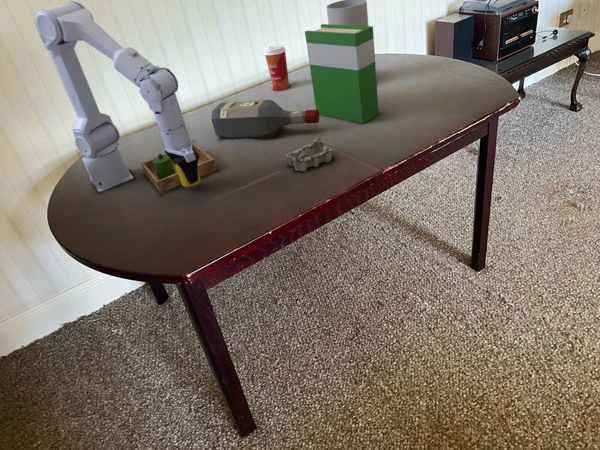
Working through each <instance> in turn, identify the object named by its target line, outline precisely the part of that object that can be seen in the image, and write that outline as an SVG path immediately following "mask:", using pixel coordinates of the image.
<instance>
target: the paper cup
mask: <svg viewBox="0 0 600 450" xmlns="http://www.w3.org/2000/svg"><path fill="white" fill-rule="evenodd" d="M286 51H287V49H286V48H285V46H284V45H283V44H274V45H270V46H267V47H265V48H264V52H263V55H264V57H265V59H266V65H267V68H268V72H269V76H270V80H271V83H272V87H273V90H274V91H277V92H278V91H284V90H287V89H289V88H290V80H289V72H288V71H289V70H288V63H287V56H286Z"/></svg>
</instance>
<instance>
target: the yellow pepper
mask: <svg viewBox="0 0 600 450" xmlns="http://www.w3.org/2000/svg"><path fill="white" fill-rule="evenodd" d="M175 166H176V169H177V172H178V175H179V178H180V180H181V183H182V184H181V185H182V187H185V188H191V187H194V186H196V185H198V184H199V183H201V177H200V176H199V173H198V181H197V182H195V183H193V184H190V183H189V182H188V181H187V179H186V177H185V175H184V173H183V171H182V170H181V168H180V167H179V166H178V165H177V164H176V165H175Z"/></svg>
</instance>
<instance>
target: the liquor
mask: <svg viewBox="0 0 600 450" xmlns="http://www.w3.org/2000/svg"><path fill="white" fill-rule="evenodd" d="M210 119H211V123H212V126H213V130H214V133H215V136H217V137H218V138H219V139H237V138H238V139H239V138H240V139H241V138H253V139H263V138H265V139H266V138H272V137H275V135H276V134H278V133H279V131H281V130H282V129H283V128H284V126H287V125H295V124H296V125H297V124H318V123H319V122H320V115H319V111H318V110H316V109H306V110H284V108H282V107H281V106H280V105H279V104H278V103H276V102H275V101H274V100H272V99H259V100H244V101H243V100H241V101H239V100H238V101H225V102H223V101H222V102H220V103H219V104H218V105H217V106H215V108H213V109H212V111H211V118H210Z"/></svg>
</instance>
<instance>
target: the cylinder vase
mask: <svg viewBox="0 0 600 450" xmlns="http://www.w3.org/2000/svg"><path fill="white" fill-rule="evenodd" d="M367 1H368V0H339V1H335V2H332V3H329V4H327V5H326V6H325V8H326V16H327V24H332V25H355V26H369V14H368V13H369V12H368V2H367Z"/></svg>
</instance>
